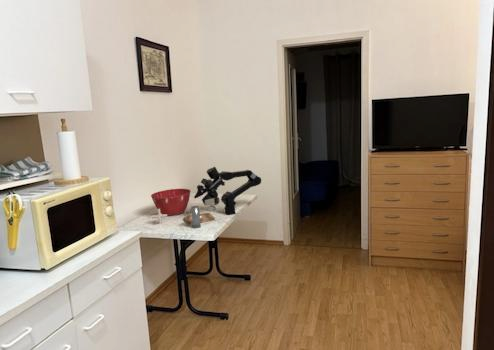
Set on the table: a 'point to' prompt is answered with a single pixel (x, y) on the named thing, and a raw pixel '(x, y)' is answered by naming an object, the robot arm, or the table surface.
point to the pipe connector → (159, 216)
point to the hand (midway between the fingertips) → (198, 199)
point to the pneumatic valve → (211, 203)
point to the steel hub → (195, 217)
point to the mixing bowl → (171, 201)
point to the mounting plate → (203, 218)
